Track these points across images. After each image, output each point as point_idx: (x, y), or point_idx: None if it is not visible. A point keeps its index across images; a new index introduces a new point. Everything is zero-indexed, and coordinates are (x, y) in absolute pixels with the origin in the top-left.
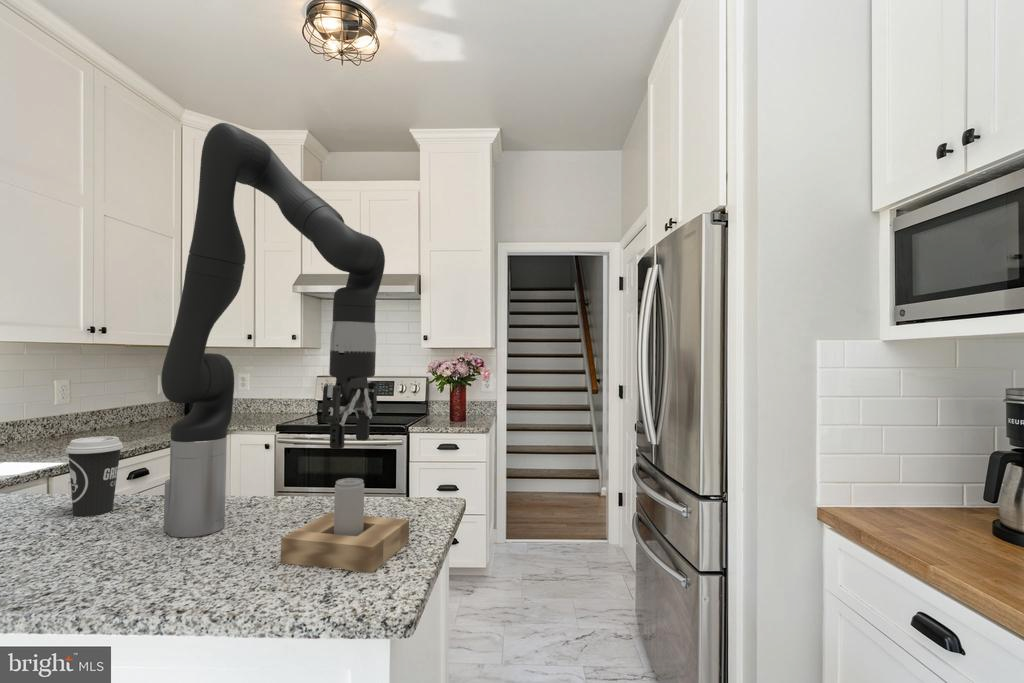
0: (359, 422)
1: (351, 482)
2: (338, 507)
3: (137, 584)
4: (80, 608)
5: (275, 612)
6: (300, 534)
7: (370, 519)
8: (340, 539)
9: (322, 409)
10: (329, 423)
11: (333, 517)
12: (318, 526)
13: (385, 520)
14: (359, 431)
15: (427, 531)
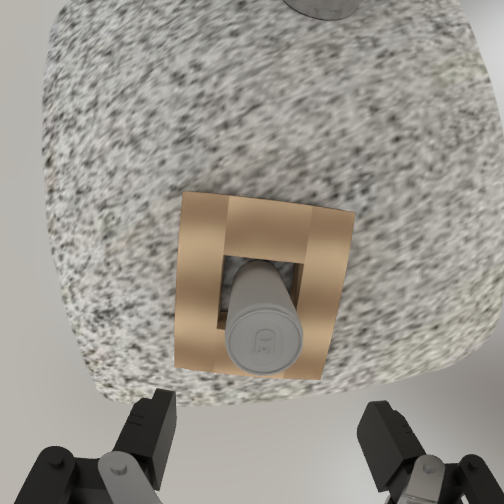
0: (391, 458)
1: (254, 352)
2: (230, 305)
3: (106, 53)
4: (55, 57)
5: (63, 271)
6: (207, 219)
7: (318, 317)
8: (195, 307)
9: (22, 489)
10: (83, 464)
11: (325, 237)
12: (261, 232)
13: (314, 345)
14: (376, 432)
15: (362, 366)
